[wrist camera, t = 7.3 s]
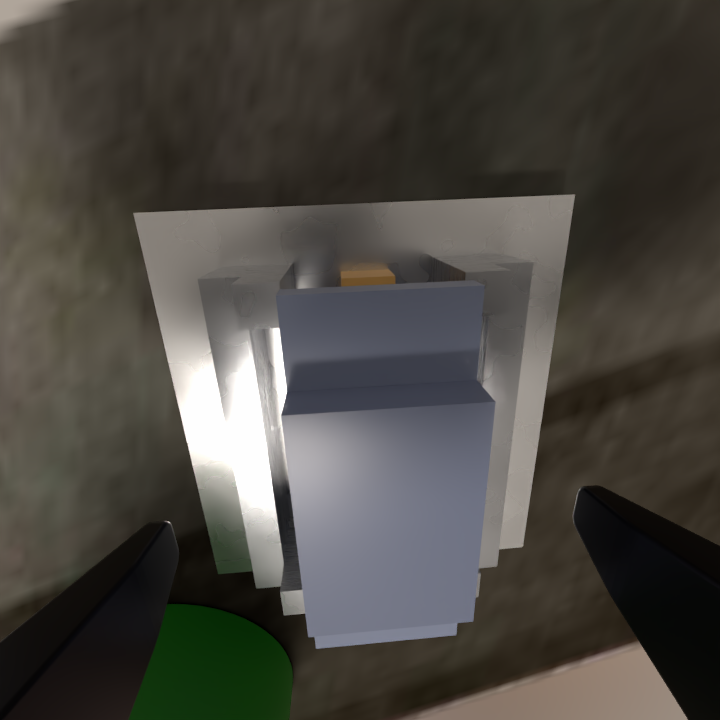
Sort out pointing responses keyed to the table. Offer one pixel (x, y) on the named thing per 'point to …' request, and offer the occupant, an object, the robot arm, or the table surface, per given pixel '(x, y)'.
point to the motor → (214, 670)
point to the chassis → (322, 269)
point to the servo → (385, 454)
